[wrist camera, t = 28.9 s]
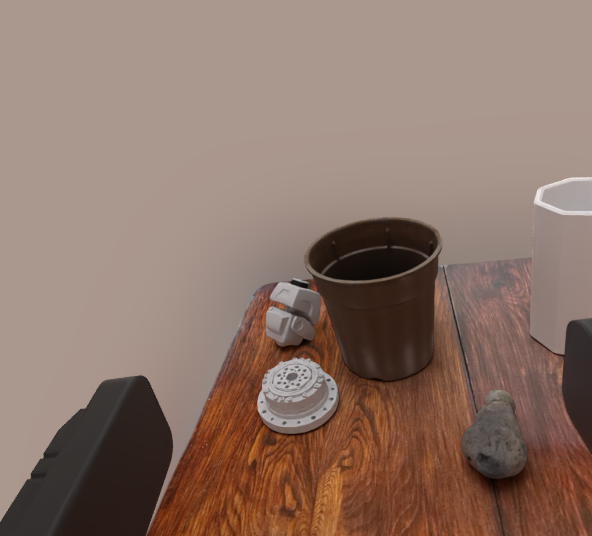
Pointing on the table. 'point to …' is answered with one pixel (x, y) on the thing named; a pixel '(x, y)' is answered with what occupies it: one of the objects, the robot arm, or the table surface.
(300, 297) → the grey blocky piece
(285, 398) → the mechanical component
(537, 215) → the cup
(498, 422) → the stone
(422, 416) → the table surface
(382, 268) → the plant pot
